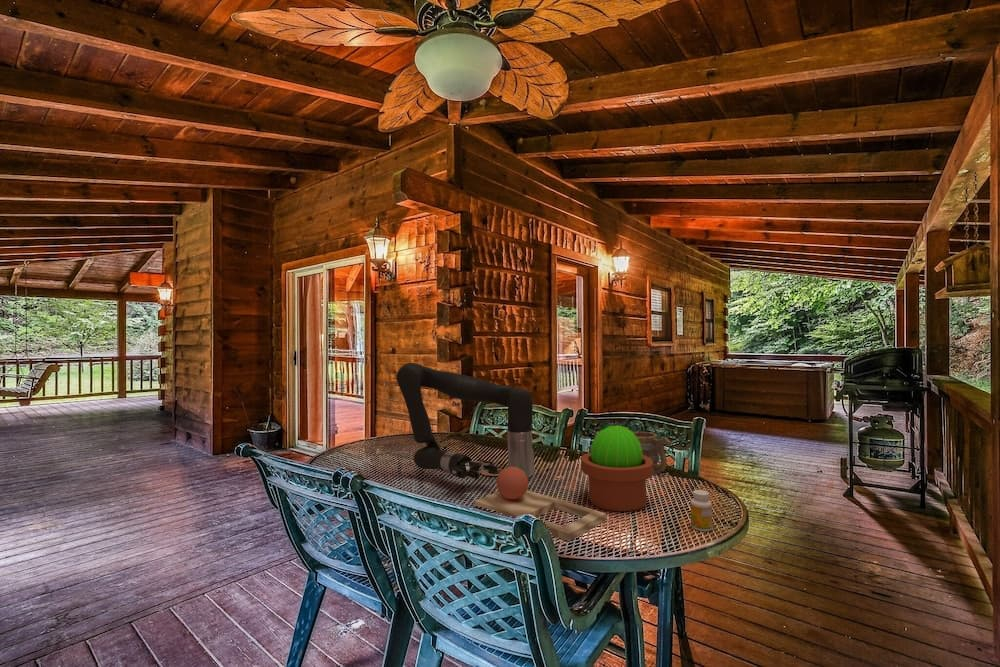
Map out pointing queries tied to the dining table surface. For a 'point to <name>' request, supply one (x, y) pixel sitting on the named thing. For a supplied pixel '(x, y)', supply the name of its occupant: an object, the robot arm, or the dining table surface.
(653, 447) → the tankard
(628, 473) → the potted cactus
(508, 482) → the ball
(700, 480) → the dining table surface
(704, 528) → the supplement bottle
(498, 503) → the board
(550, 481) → the dining table surface
